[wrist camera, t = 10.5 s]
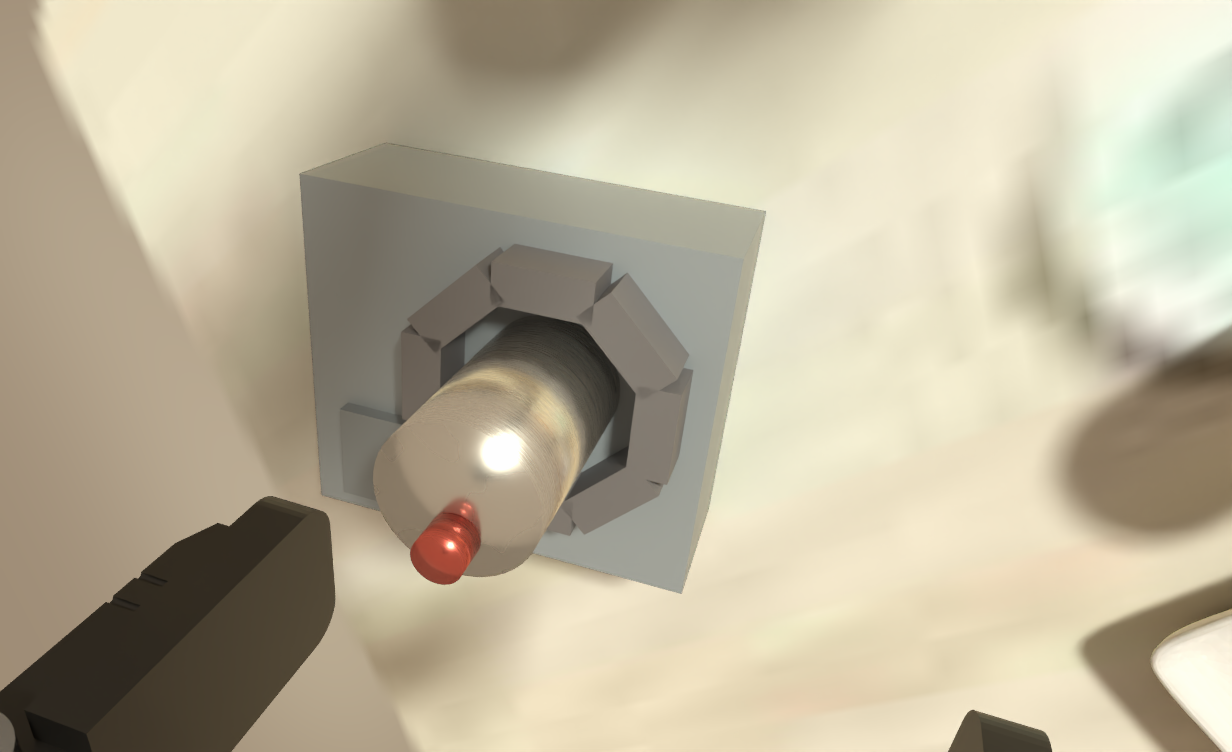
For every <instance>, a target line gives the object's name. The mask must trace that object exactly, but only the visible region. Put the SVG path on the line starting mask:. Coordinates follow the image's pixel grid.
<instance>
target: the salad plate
mask: <svg viewBox="0 0 1232 752" xmlns="http://www.w3.org/2000/svg"><path fill="white" fill-rule="evenodd" d="M1150 664H1151V668H1152V670H1153V672H1154V674H1155V675H1156V677H1157V678H1158V680H1159V681H1160V682H1161V684H1162V685H1163V686H1164V688H1165V689H1166V690H1167V691H1168V693H1169V694H1170V695H1171V696H1172V698H1173V699H1174V700H1175V701H1176V702H1177V703H1178V705H1179V706H1180V707H1181V708H1182V709H1183V710H1184V711H1185V712H1186V713H1187V715H1188V716H1189V717H1190V718H1191V719H1192V720H1193V721H1194V722H1195V723H1196V724H1197V725H1198V726H1199V728H1200V729H1201V730H1202V731H1203V732H1204V733H1205V734H1206V735H1207V736H1208V737H1209V739H1210V740H1211V741H1212V742H1213V743H1214V744H1215V745H1216V746H1217V747H1218V748H1219V749H1220V751H1221V752H1232V609H1230V610H1227V611H1224V612H1221V613H1218V614H1215V615H1212V616H1209V617H1207V618H1204V619H1202V620H1199V621H1197V622H1194V623H1191V624H1189V625H1187V626H1185V627H1183V628H1181V629H1179V630H1177V631H1175V632H1173V633H1172V634H1170V635H1169V636H1168V637H1166V638H1165V639H1164V640H1163V641H1162V642H1161V643H1160V644H1159V645H1158V646H1157V647H1156V648H1155V649H1154V651H1153V652H1152V655H1151V658H1150Z"/></svg>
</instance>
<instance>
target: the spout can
mask: <svg viewBox="0 0 1232 752" xmlns="http://www.w3.org/2000/svg"><path fill="white" fill-rule="evenodd" d="M619 397H620V384H619V377H618V373H617V369H616V367H615V366H614V365H613V364H612V362H611V361H610V360H609V358H608V357H607V356H606V355H605V353H604V352H603V351H602V349H601V348H600V347H599V345H598V344H597V343H596V342H595V340H594V339H593V338H592V336H591V335H590V334H589V333H588V331H587V330H586V329H585V328H583V327H582V326H580V325H578V324H576V323H574V322H569V321H565V320H560V319H555V318H551V317H546V316H541V315H531V316H526V317H523V318H520V319H517V320H515V321H513V322H511V323H510V324H508V325H506V326H505V327H504V328H503V329H502V330H501V331H499V332H498V333H497V334H496V335H495V336H494V337H493V338H492V339H491V340H490V341H489V342H488V343H487V344H486V345H485V346H484V347H483V348H482V349H481V350H480V351H479V352H478V353H477V354H476V355H474V356H473V357H472V358H471V359H470V360H469V361H468V362H467V363H466V364H465V365H464V366H463V367H462V368H461V369H460V370H459V371H458V372H457V373H456V374H455V375H454V376H453V377H452V378H451V379H449V380H448V381H447V382H446V383H445V384H444V385H443V386H442V387H441V388H440V389H439V390H438V391H437V392H436V393H435V394H434V395H433V396H432V397H431V398H430V399H429V400H428V401H427V402H426V403H425V404H423V405H422V406H421V407H420V408H419V409H418V410H417V411H416V412H415V413H414V414H413V415H412V416H411V417H410V418H409V419H408V420H407V421H406V422H405V423H404V424H403V425H402V426H401V427H400V428H399V429H397V430H396V431H395V432H394V433H393V434H392V435H391V436H390V437H389V438H388V439H387V441H386V442H385V443H384V444H383V445H382V447H381V449H380V451H379V452H378V455H377V458H376V460H375V465H374V470H373V485H374V492H375V496H376V500H377V503H378V505H379V508H380V511H381V512H382V514H383V516H384V518H385V520H386V522H387V523H388V525H389V526H390V528H391V529H392V530H393V532H394V533H395V534H396V535H397V537H398V538H399V539H400V540H401V541H402V542H403V543H404V544H405V545H406V546H407V547H408V548H409V549H411V551H410V557H411V561H412V563H413V565H414V567H415V568H416V570H417V571H418V572H419V573H420V574H421V575H422V576H423V577H425V578H426V579H428V580H429V581H432V582H434V583H437V584H443V585H447V584H452V583H454V582H456V581H458V580H459V579H460V577H461V576H462V575H465V576H473V577H488V576H495V575H499V574H503V573H506V572H508V571H511V570H513V569H515V568H516V567H518V566H519V565H521V564H522V563H523V562H524V561H526V560H527V559H528V558H529V556H530V555H531V554H532V552H533V551H534V550H535V548H536V546H537V545H538V543H539V541H540V539H541V538H542V536H543V534H544V533H545V531H546V529H547V528H548V526H549V524H550V523H551V521H552V519H553V517H554V516H555V514H556V512H557V511H558V509H559V507H560V506H561V504H562V502H563V501H564V499H565V497H566V496H567V494H568V492H569V490H570V489H571V487H572V485H573V484H574V482H575V480H576V479H577V477H578V475H579V474H580V472H581V470H582V469H583V467H584V465H585V463H586V462H587V460H588V458H589V457H590V455H591V453H592V452H593V450H594V448H595V447H596V445H597V443H598V441H599V440H600V438H601V436H602V435H603V433H604V431H605V430H606V428H607V426H608V425H609V423H610V421H611V420H612V418H613V416H614V414H615V412H616V409H617V406H618V402H619Z"/></svg>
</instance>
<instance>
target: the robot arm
mask: <svg viewBox="0 0 1232 752" xmlns="http://www.w3.org/2000/svg"><path fill="white" fill-rule="evenodd" d="M334 606H335V585H334V571H333V558H332V544H331V531H330V521H329V518H328V516H327V515H326V513H324V512H323V511H320V510H316V509H313V508H310V507H307V506H303V505H300V504H297V503H293V502H290V501H287V500H283V499H280V498H277V497H273V496H268V497H264V498H263V499H261V500H259V501H258V502H256V503H255V504H254V505H253V506H252V507H251V508H249V509H248V510H247V511H246V512H245V513H244V514H243V515H242V516H240V518H238V519H237V520H236V521H235V522H234V523H233V524H232V525H230V526H226V525H223V524H219V523H217V524H215V525H213V526H211V527H209V528H207V529H204V530H202V531H200V532H198V533H196V534H194V535H192V536H190V537H188V538H185V539H183V540H181V541H179V542H177V543H175V544H174V545H173V546H171V547H170V548H169V549H168V550H167V551H166V552H164V553H163V554H162V555H161V556H160V557H158V558H157V559H156V560H155V561H154V562H153V563H151V564H150V565H149V566H148V567H147V568H145V569H144V570H143V571H142V572H141V576H140V577H139V578H138V579H137V578H134V579H133V580H131V581H130V582H129V583H128V584H127V585H126V586H124V587H123V588H122V589H121V590H120V591H118V592H117V593H116V594H115V595H114V596H113V600H112V601H111V602H110V603H107V602H105V603H104V604H103V605H102V606H101V607H99V608H98V609H97V610H96V611H95V612H94V613H92V614H91V615H90V616H89V617H88V618H87V619H85V620H84V621H83V622H82V623H81V624H79V625H78V626H77V627H76V628H75V629H74V630H72V631H71V632H70V633H69V634H68V635H66V636H65V637H64V638H63V639H62V640H61V641H60V642H58V643H57V644H56V645H55V646H54V647H52V648H51V649H50V650H49V651H48V652H46V653H45V654H44V655H43V656H42V657H41V658H39V659H38V660H37V661H36V662H35V663H33V664H32V665H31V666H30V667H29V668H28V669H27V670H25V671H24V672H23V673H22V674H20V675H19V676H18V677H17V678H16V679H15V680H13V681H12V682H11V683H10V684H9V685H7V686H6V687H5V688H4V689H3V690H2V691H0V752H231V751H232V750H233V749H234V747H235V746H236V745H237V744H238V743H239V741H240V740H241V739H242V738H243V736H244V735H245V734H246V733H247V731H248V730H249V729H250V728H251V726H252V725H253V724H254V723H255V722H256V720H257V719H258V718H259V717H260V715H261V714H262V713H263V712H264V710H265V709H266V708H267V707H268V706H269V704H270V703H271V702H272V701H273V699H274V698H275V697H276V696H277V695H278V693H279V692H280V691H281V689H282V688H283V687H284V686H285V684H286V683H287V682H288V681H289V680H290V678H291V677H292V676H293V675H294V674H295V672H296V671H297V670H298V668H299V667H300V666H301V665H302V664H303V662H304V661H305V660H306V659H307V658H308V656H309V655H310V654H311V653H312V651H313V650H314V649H315V648H316V646H317V645H318V644H319V642H320V641H321V639H322V638H323V636H324V634H325V632H326V630H327V628H328V625H329V623H330V621H331V618H332V614H333V611H334ZM948 752H1052V748H1051V744H1050V741H1049V738H1048V736H1047V735H1046V733H1045V732H1043V731H1041V730H1038V729H1034V728H1031V727H1028V726H1025V725H1021V724H1018V723H1015V722H1011V721H1008V720H1005V719H1001V718H998V717H995V716H991V715H988V714H985V713H981V712H978V711H975V710H971V711H969V712H968V713H967V715H966V716H965V718H964V720H963V721H962V724H961V726H960V728H959V730H958V732H957V734H956V736H955V738H954V740H953V743H952V745H951V747H950V749H949V751H948Z"/></svg>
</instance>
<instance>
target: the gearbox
mask: <svg viewBox="0 0 1232 752" xmlns="http://www.w3.org/2000/svg"><path fill="white" fill-rule="evenodd" d="M300 186H301V201H302V215H303V230H304V245H305V259H306V274H307V288H308V303H309V318H310V332H311V347H312V362H313V376H314V391H315V406H316V420H317V435H318V449H319V464H320V479H321V493H322V495H323V496H327V497H330V498H334V499H338V500H341V501H345V502H349V503H352V504H356V505H360V506H363V507H367V508H371V509H374V510H378V511H380V508H379V505H378V503H377V500H376V496H375V492H374V485H373V470H374V465H375V460H376V458H377V455H378V452H379V451H380V449H381V447H382V445H383V444H384V443H385V442H386V441H387V439H388V438H389V437H390V436H391V435H392V434H393V433H394V432H395V431H396V430H397V429H399V428H400V427H401V426H402V425H403V424H404V423H405V422H406V421H407V420H408V419H409V418H410V417H411V416H412V415H413V414H414V413H415V412H416V411H417V410H418V409H419V408H420V407H421V406H422V405H423V404H425V403H426V402H427V401H428V400H429V399H430V398H431V397H432V396H433V395H434V394H435V393H436V392H437V391H438V390H439V389H440V388H441V387H442V386H443V385H444V384H445V383H446V382H447V381H448V380H449V379H451V378H452V377H453V376H454V375H455V374H456V373H457V372H458V371H459V370H460V369H461V368H462V367H463V366H464V365H465V364H466V363H467V362H468V361H469V360H470V359H471V358H472V357H473V356H474V355H476V354H477V353H478V352H479V351H480V350H481V349H482V348H483V347H484V346H485V345H486V344H487V343H488V342H489V341H490V340H491V339H492V338H493V337H494V336H495V335H496V334H497V333H498V332H499V331H501V330H502V329H503V328H504V327H505V326H506V325H508V324H510V323H511V322H513V321H515V320H517V319H520V318H523V317H526V316H531V315H541V316H546V317H551V318H555V319H560V320H565V321H569V322H574V323H576V324H578V325H580V326H582V327H583V328H585V329H586V330H587V331H588V333H589V334H590V335H591V336H592V338H593V339H594V340H595V342H596V343H597V344H598V345H599V347H600V348H601V349H602V351H603V352H604V353H605V355H606V356H607V357H608V358H609V360H610V361H611V362H612V364H613V365H614V366H615V367H616V369H617V373H618V377H619V384H620V397H619V402H618V406H617V409H616V412H615V414H614V416H613V418H612V420H611V421H610V423H609V425H608V426H607V428H606V430H605V431H604V433H603V435H602V436H601V438H600V440H599V441H598V443H597V445H596V447H595V448H594V450H593V452H592V453H591V455H590V457H589V458H588V460H587V462H586V463H585V465H584V467H583V469H582V470H581V472H580V474H579V475H578V477H577V479H576V480H575V482H574V484H573V485H572V487H571V489H570V490H569V492H568V494H567V496H566V497H565V499H564V501H563V502H562V504H561V506H560V507H559V509H558V511H557V512H556V514H555V516H554V517H553V519H552V521H551V523H550V524H549V526H548V528H547V529H546V531H545V533H544V534H543V536H542V538H541V539H540V541H539V543H538V545H537V546H536V548H535V550H534V551H533V552H532V553H534V554H538V555H542V556H545V557H549V558H553V559H556V560H560V561H564V562H567V563H571V564H575V565H578V566H582V567H585V568H589V569H593V570H596V571H600V572H604V573H607V574H611V575H615V576H618V577H622V578H625V579H629V580H633V581H636V582H640V583H644V584H647V585H651V586H655V587H658V588H662V589H666V590H669V591H673V592H676V593H680V594H682V591H683V588H684V585H685V582H686V579H687V575H688V572H689V569H690V566H691V563H692V560H693V557H694V553H695V550H696V547H697V544H698V541H699V538H700V534H701V531H702V528H703V525H704V522H705V519H706V515H707V512H708V509H709V504H710V499H711V494H712V488H713V483H714V478H715V473H716V468H717V463H718V457H719V452H720V447H721V442H722V437H723V431H724V426H725V421H726V416H727V411H728V406H729V400H730V395H731V390H732V385H733V380H734V374H735V369H736V364H737V359H738V354H739V349H740V343H741V338H742V333H743V328H744V323H745V318H746V312H747V307H748V302H749V297H750V292H751V286H752V281H753V276H754V271H755V266H756V261H757V255H758V250H759V245H760V240H761V235H762V229H763V224H764V219H765V214H766V211H761V210H755V209H750V208H744V207H739V206H733V205H727V204H722V203H716V202H711V201H705V200H700V199H694V198H689V197H683V196H678V195H672V194H666V193H661V192H655V191H650V190H644V189H639V188H633V187H628V186H622V185H616V184H611V183H605V182H600V181H594V180H589V179H583V178H578V177H572V176H566V175H561V174H555V173H550V172H544V171H539V170H533V169H528V168H522V167H516V166H511V165H505V164H500V163H494V162H489V161H483V160H478V159H472V158H467V157H461V156H455V155H450V154H444V153H439V152H433V151H428V150H422V149H417V148H411V147H405V146H400V145H394V144H389V143H384V144H381V145H378V146H375V147H373V148H370V149H367V150H364V151H361V152H359V153H356V154H353V155H350V156H347V157H345V158H342V159H339V160H336V161H334V162H331V163H328V164H325V165H322V166H320V167H317V168H314V169H311V170H308V171H306V172H303V173H300Z"/></svg>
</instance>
